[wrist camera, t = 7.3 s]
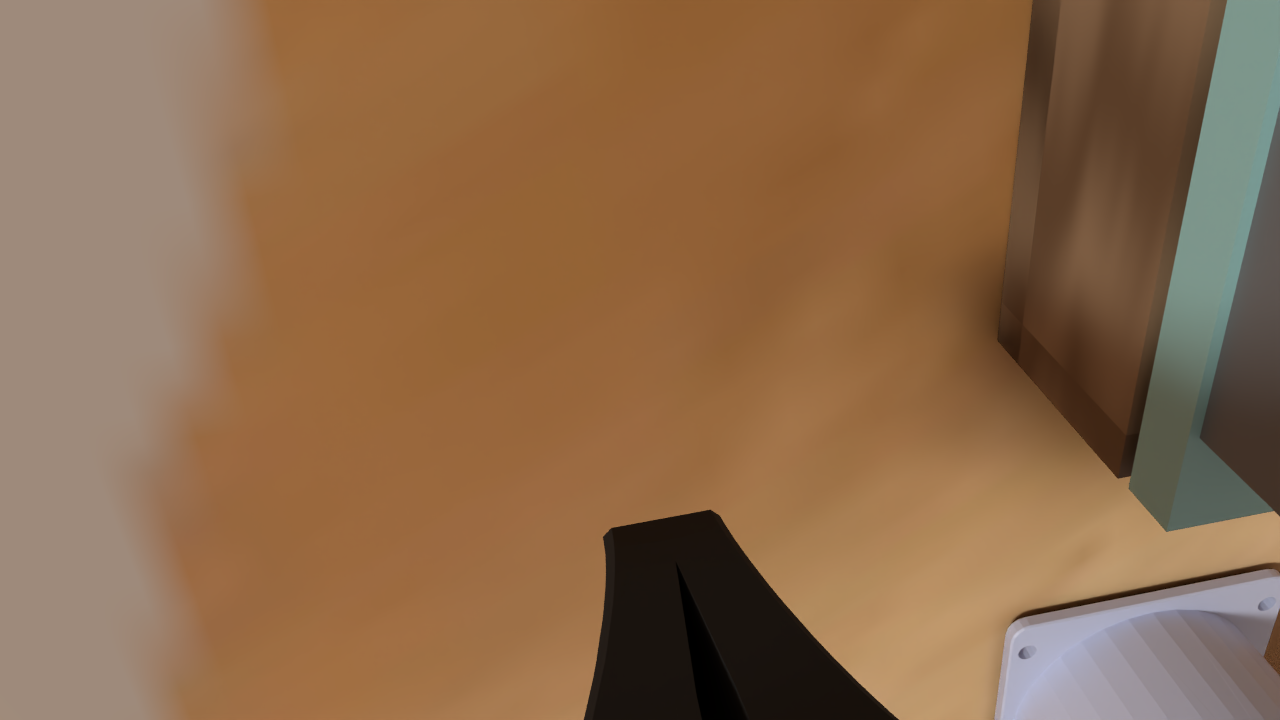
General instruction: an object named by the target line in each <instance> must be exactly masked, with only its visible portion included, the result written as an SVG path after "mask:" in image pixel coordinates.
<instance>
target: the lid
mask: <svg viewBox="0 0 1280 720" xmlns="http://www.w3.org/2000/svg"><path fill="white" fill-rule="evenodd" d="M1129 489H1130V491H1131V492H1132V493H1133V494H1134V495H1135V496H1136V497H1137V499H1138V500H1139V501H1140V502H1141V503H1142V504H1143V505H1144V507H1145V508H1146V509H1147V510H1148V511H1149V512H1150V513H1151V515H1152V516H1153V517H1154V518H1155V519H1156V520H1157V522H1158V523H1159V524H1160V525H1161V526H1162V527H1163V528H1164V530H1165V531H1166V532H1168V531H1173V530H1178V529H1183V528H1189V527H1194V526H1199V525H1204V524H1209V523H1214V522H1219V521H1225V520H1230V519H1235V518H1240V517H1245V516H1250V515H1255V514H1261V513H1266V512H1271V511H1275V512H1276V513H1277V514H1278V515H1279V516H1280V0H1227V4H1226V9H1225V14H1224V19H1223V24H1222V29H1221V34H1220V39H1219V44H1218V49H1217V54H1216V58H1215V63H1214V68H1213V73H1212V78H1211V83H1210V88H1209V93H1208V98H1207V103H1206V108H1205V113H1204V118H1203V123H1202V128H1201V133H1200V138H1199V142H1198V147H1197V152H1196V157H1195V162H1194V167H1193V172H1192V177H1191V182H1190V187H1189V192H1188V197H1187V202H1186V207H1185V212H1184V217H1183V221H1182V226H1181V231H1180V236H1179V241H1178V246H1177V251H1176V256H1175V261H1174V266H1173V271H1172V276H1171V281H1170V286H1169V291H1168V296H1167V301H1166V305H1165V310H1164V315H1163V320H1162V325H1161V330H1160V335H1159V340H1158V345H1157V350H1156V355H1155V360H1154V365H1153V370H1152V375H1151V380H1150V385H1149V389H1148V394H1147V399H1146V404H1145V409H1144V414H1143V419H1142V424H1141V429H1140V434H1139V439H1138V444H1137V449H1136V454H1135V459H1134V464H1133V468H1132V473H1131V478H1130V483H1129Z"/></svg>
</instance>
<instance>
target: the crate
mask: <svg viewBox="0 0 1280 720" xmlns="http://www.w3.org/2000/svg"><path fill="white" fill-rule="evenodd" d="M1226 4H1227V0H1033V5H1032V15H1031V24H1030V34H1029V44H1028V53H1027V63H1026V72H1025V82H1024V91H1023V101H1022V111H1021V120H1020V130H1019V139H1018V149H1017V158H1016V168H1015V178H1014V187H1013V197H1012V206H1011V216H1010V225H1009V235H1008V245H1007V254H1006V264H1005V273H1004V283H1003V292H1002V302H1001V312H1000V321H999V331H998V342H999V343H1000V344H1001V345H1002V346H1003V347H1004V348H1005V350H1006V351H1007V352H1008V353H1009V354H1010V355H1011V356H1012V358H1013V359H1014V360H1015V361H1016V362H1017V363H1018V365H1019V366H1020V367H1021V368H1022V369H1023V370H1024V371H1025V373H1026V374H1027V375H1028V376H1029V377H1030V378H1031V379H1032V381H1033V382H1034V383H1035V384H1036V385H1037V386H1038V387H1039V389H1040V390H1041V391H1042V392H1043V393H1044V394H1045V395H1046V397H1047V398H1048V399H1049V400H1050V401H1051V402H1052V404H1053V405H1054V406H1055V407H1056V408H1057V409H1058V410H1059V412H1060V413H1061V414H1062V415H1063V416H1064V417H1065V418H1066V420H1067V421H1068V422H1069V423H1070V424H1071V425H1072V426H1073V428H1074V429H1075V430H1076V431H1077V432H1078V433H1079V435H1080V436H1081V437H1082V438H1083V439H1084V440H1085V441H1086V443H1087V444H1088V445H1089V446H1090V447H1091V448H1092V449H1093V451H1094V452H1095V453H1096V454H1097V455H1098V456H1099V457H1100V459H1101V460H1102V461H1103V462H1104V463H1105V464H1106V465H1107V467H1108V468H1109V469H1110V470H1111V471H1112V472H1113V474H1114V475H1115V476H1116V477H1117V478H1123V477H1128V476H1131V473H1132V468H1133V464H1134V459H1135V454H1136V449H1137V444H1138V439H1139V434H1140V429H1141V424H1142V419H1143V414H1144V409H1145V404H1146V399H1147V394H1148V389H1149V385H1150V380H1151V375H1152V370H1153V365H1154V360H1155V355H1156V350H1157V345H1158V340H1159V335H1160V330H1161V325H1162V320H1163V315H1164V310H1165V305H1166V301H1167V296H1168V291H1169V286H1170V281H1171V276H1172V271H1173V266H1174V261H1175V256H1176V251H1177V246H1178V241H1179V236H1180V231H1181V226H1182V221H1183V217H1184V212H1185V207H1186V202H1187V197H1188V192H1189V187H1190V182H1191V177H1192V172H1193V167H1194V162H1195V157H1196V152H1197V147H1198V142H1199V138H1200V133H1201V128H1202V123H1203V118H1204V113H1205V108H1206V103H1207V98H1208V93H1209V88H1210V83H1211V78H1212V73H1213V68H1214V63H1215V58H1216V54H1217V49H1218V44H1219V39H1220V34H1221V29H1222V24H1223V19H1224V14H1225V9H1226Z"/></svg>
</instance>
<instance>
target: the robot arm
mask: <svg viewBox="0 0 1280 720" xmlns="http://www.w3.org/2000/svg"><path fill="white" fill-rule="evenodd" d="M603 540H604V546H605V554H606V588H605V601H604V612H603V621H602V628H601V634H600V641H599V647H598V654H597V661H596V667H595V672H594V677H593V682H592V686H591V691H590V695H589V700H588V704H587V708H586V713H585V717H584V720H898V719H897V718H896V717H895V716H894V715H893V714H892V713H890V712H889V711H888V710H887V709H886V708H885V707H884V706H883V705H882V704H881V703H880V702H878V701H877V700H876V699H875V698H874V697H873V696H872V695H871V694H870V693H869V692H868V691H867V690H866V689H865V688H864V687H863V686H861V685H860V684H859V683H858V682H857V681H856V680H855V679H854V678H853V677H852V676H851V675H850V674H849V673H848V672H847V671H846V670H845V669H844V668H843V667H842V666H841V665H840V664H839V663H838V662H837V661H836V660H835V659H834V658H833V657H832V656H831V655H830V653H829V652H828V651H827V650H826V649H825V648H824V647H823V646H822V645H821V644H820V643H819V642H818V641H817V640H816V639H815V638H814V637H813V635H812V634H811V633H810V632H809V631H808V630H807V629H806V627H805V626H804V625H803V624H802V623H801V622H800V621H799V620H798V618H797V617H796V616H795V615H794V614H793V613H792V612H791V610H790V609H789V608H788V607H787V606H786V605H785V604H784V603H783V601H782V600H781V599H780V598H779V597H778V595H777V594H776V593H775V592H774V591H773V589H772V588H771V587H770V586H769V584H768V583H767V582H766V581H765V579H764V578H763V577H762V575H761V574H760V573H759V572H758V570H757V569H756V568H755V567H754V565H753V564H752V563H751V561H750V560H749V559H748V557H747V556H746V555H745V553H744V552H743V550H742V549H741V548H740V546H739V545H738V543H737V542H736V541H735V539H734V538H733V536H732V535H731V533H730V532H729V530H728V529H727V527H726V525H725V524H724V522H723V520H722V519H721V517H720V516H719V515H718V514H716V513H715V512H713V511H711V510H707V511H701V512H696V513H690V514H685V515H680V516H674V517H669V518H663V519H658V520H653V521H647V522H642V523H636V524H631V525H626V526H620V527H615V528H611V529H610V530H609V531H608V532H607V533H606V534H605V536H604V537H603ZM1279 608H1280V573H1279V572H1278V571H1277V570H1275V569H1264V570H1259V571H1254V572H1249V573H1244V574H1239V575H1234V576H1229V577H1224V578H1219V579H1214V580H1209V581H1204V582H1199V583H1194V584H1189V585H1184V586H1179V587H1173V588H1168V589H1163V590H1158V591H1153V592H1148V593H1143V594H1138V595H1133V596H1128V597H1123V598H1118V599H1113V600H1108V601H1103V602H1098V603H1093V604H1088V605H1083V606H1078V607H1073V608H1068V609H1063V610H1058V611H1053V612H1048V613H1043V614H1038V615H1033V616H1028V617H1023V618H1020V619H1018V620H1016V621H1015V622H1013V623H1012V624H1011V625H1010V626H1009V627H1008V629H1007V632H1006V636H1005V644H1004V651H1003V659H1002V666H1001V674H1000V681H999V689H998V696H997V704H996V711H995V719H994V720H1280V676H1279V674H1278V673H1277V672H1276V671H1275V670H1274V669H1273V668H1272V666H1271V665H1270V664H1269V663H1268V662H1267V661H1266V659H1265V658H1264V654H1265V651H1266V648H1267V645H1268V642H1269V639H1270V636H1271V633H1272V630H1273V627H1274V624H1275V621H1276V618H1277V615H1278V612H1279Z"/></svg>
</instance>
